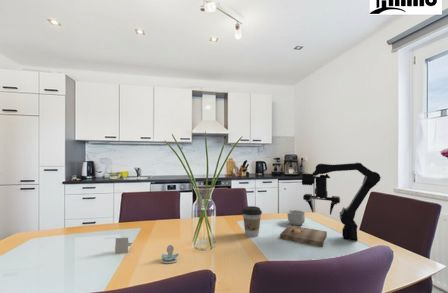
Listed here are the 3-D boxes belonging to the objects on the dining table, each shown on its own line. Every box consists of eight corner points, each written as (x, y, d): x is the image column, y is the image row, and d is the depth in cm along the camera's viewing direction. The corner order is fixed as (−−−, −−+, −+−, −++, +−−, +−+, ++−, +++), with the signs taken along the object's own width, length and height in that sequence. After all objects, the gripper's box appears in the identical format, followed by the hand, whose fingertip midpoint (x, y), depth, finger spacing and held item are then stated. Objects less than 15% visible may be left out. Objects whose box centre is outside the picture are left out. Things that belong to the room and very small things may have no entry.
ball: (292, 230, 128) (297, 236, 127) (291, 232, 124) (296, 238, 123) (298, 226, 126) (303, 232, 125) (297, 228, 123) (301, 235, 122)
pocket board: (326, 235, 125) (326, 231, 125) (322, 247, 110) (322, 242, 110) (288, 229, 136) (288, 225, 136) (280, 238, 121) (280, 234, 121)
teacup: (307, 227, 141) (307, 214, 141) (289, 226, 141) (289, 214, 141) (300, 220, 155) (300, 208, 155) (284, 220, 155) (284, 208, 155)
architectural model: (117, 251, 106) (117, 235, 106) (132, 250, 107) (132, 234, 107) (114, 254, 103) (115, 238, 103) (130, 253, 104) (130, 237, 104)
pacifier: (177, 264, 93) (179, 257, 99) (177, 249, 93) (179, 243, 99) (159, 265, 93) (162, 257, 99) (159, 249, 93) (162, 243, 99)
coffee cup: (240, 237, 123) (240, 209, 123) (243, 230, 134) (243, 205, 134) (261, 239, 120) (261, 211, 121) (262, 232, 131) (262, 206, 132)
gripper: (340, 185, 130) (341, 212, 129) (306, 183, 139) (307, 208, 139) (339, 187, 120) (339, 217, 120) (302, 185, 130) (303, 212, 129)
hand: (321, 213), depth 127 cm, fingers open, 9 cm apart
